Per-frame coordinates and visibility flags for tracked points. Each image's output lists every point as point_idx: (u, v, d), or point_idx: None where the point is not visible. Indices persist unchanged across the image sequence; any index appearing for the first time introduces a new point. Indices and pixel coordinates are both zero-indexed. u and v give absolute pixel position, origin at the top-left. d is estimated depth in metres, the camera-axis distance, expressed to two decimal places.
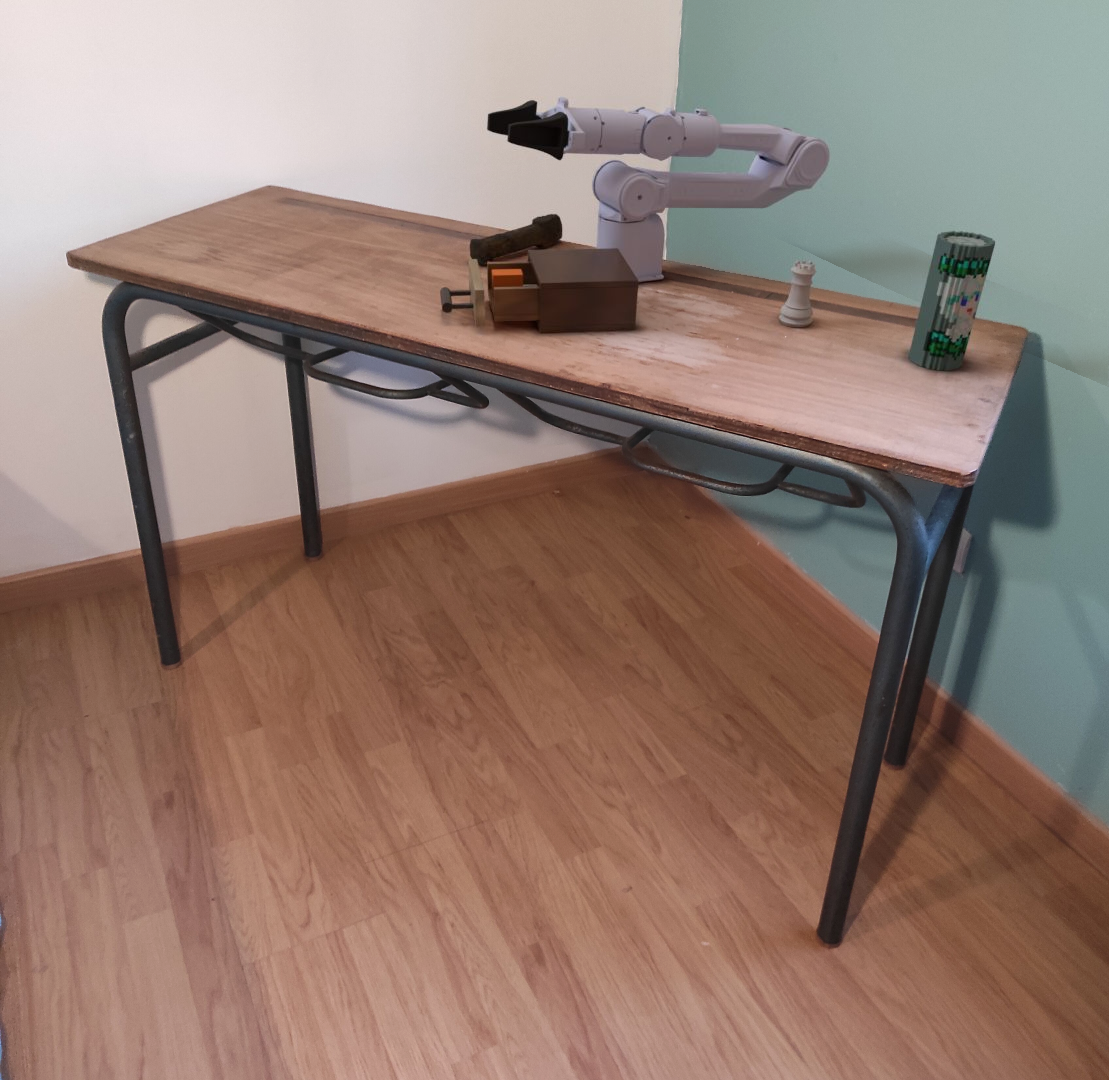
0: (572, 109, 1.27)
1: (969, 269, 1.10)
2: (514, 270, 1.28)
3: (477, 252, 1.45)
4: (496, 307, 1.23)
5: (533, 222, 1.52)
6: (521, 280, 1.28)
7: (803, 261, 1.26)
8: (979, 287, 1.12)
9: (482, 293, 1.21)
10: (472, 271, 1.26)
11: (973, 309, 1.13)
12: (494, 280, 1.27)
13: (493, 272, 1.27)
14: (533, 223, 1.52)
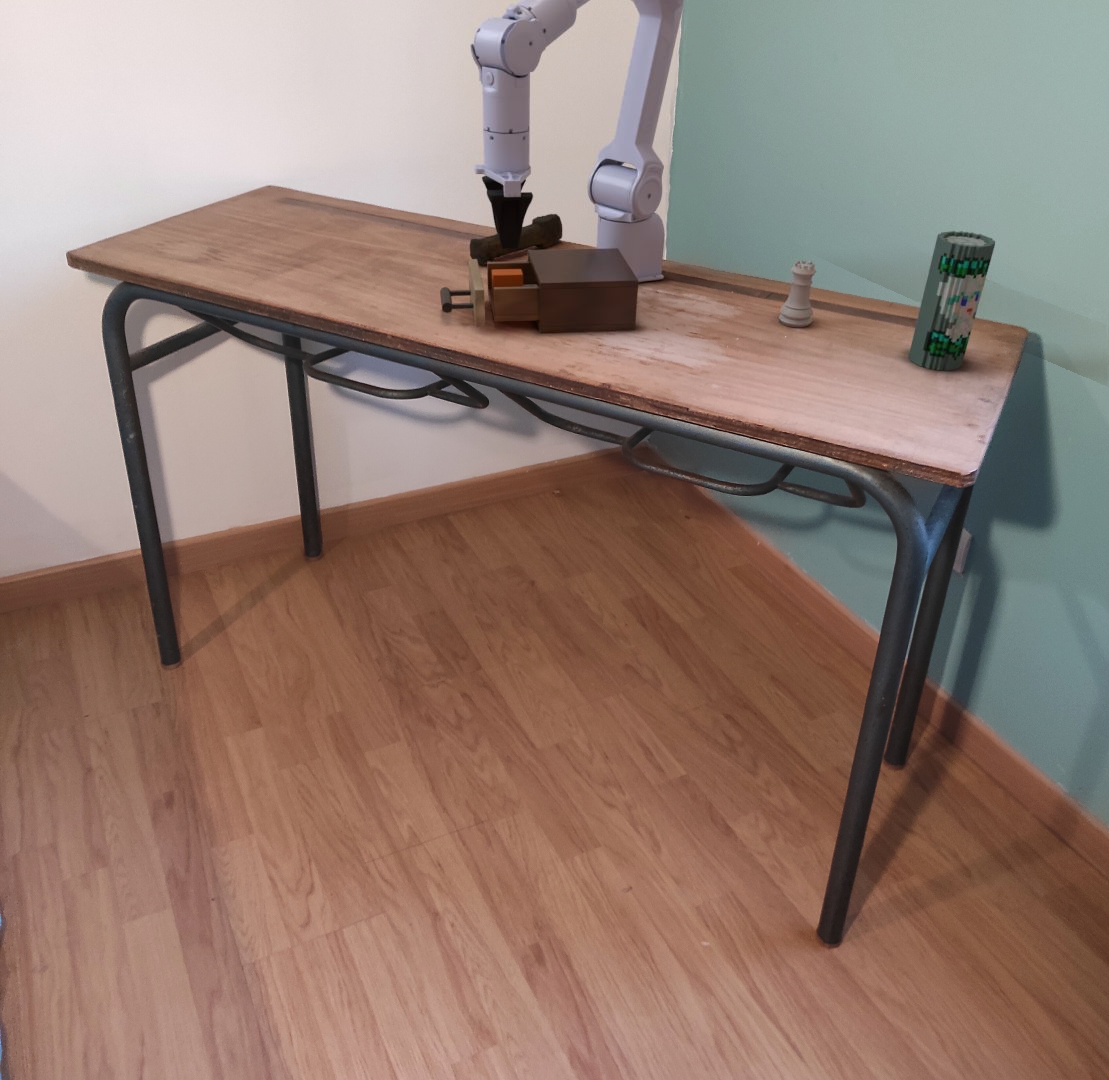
0: (485, 161, 1.19)
1: (969, 269, 1.10)
2: (514, 270, 1.28)
3: (477, 252, 1.45)
4: (496, 307, 1.23)
5: (533, 222, 1.52)
6: (521, 280, 1.28)
7: (803, 261, 1.26)
8: (979, 287, 1.12)
9: (482, 293, 1.21)
10: (472, 271, 1.26)
11: (973, 309, 1.13)
12: (494, 280, 1.27)
13: (493, 272, 1.27)
14: (533, 223, 1.52)
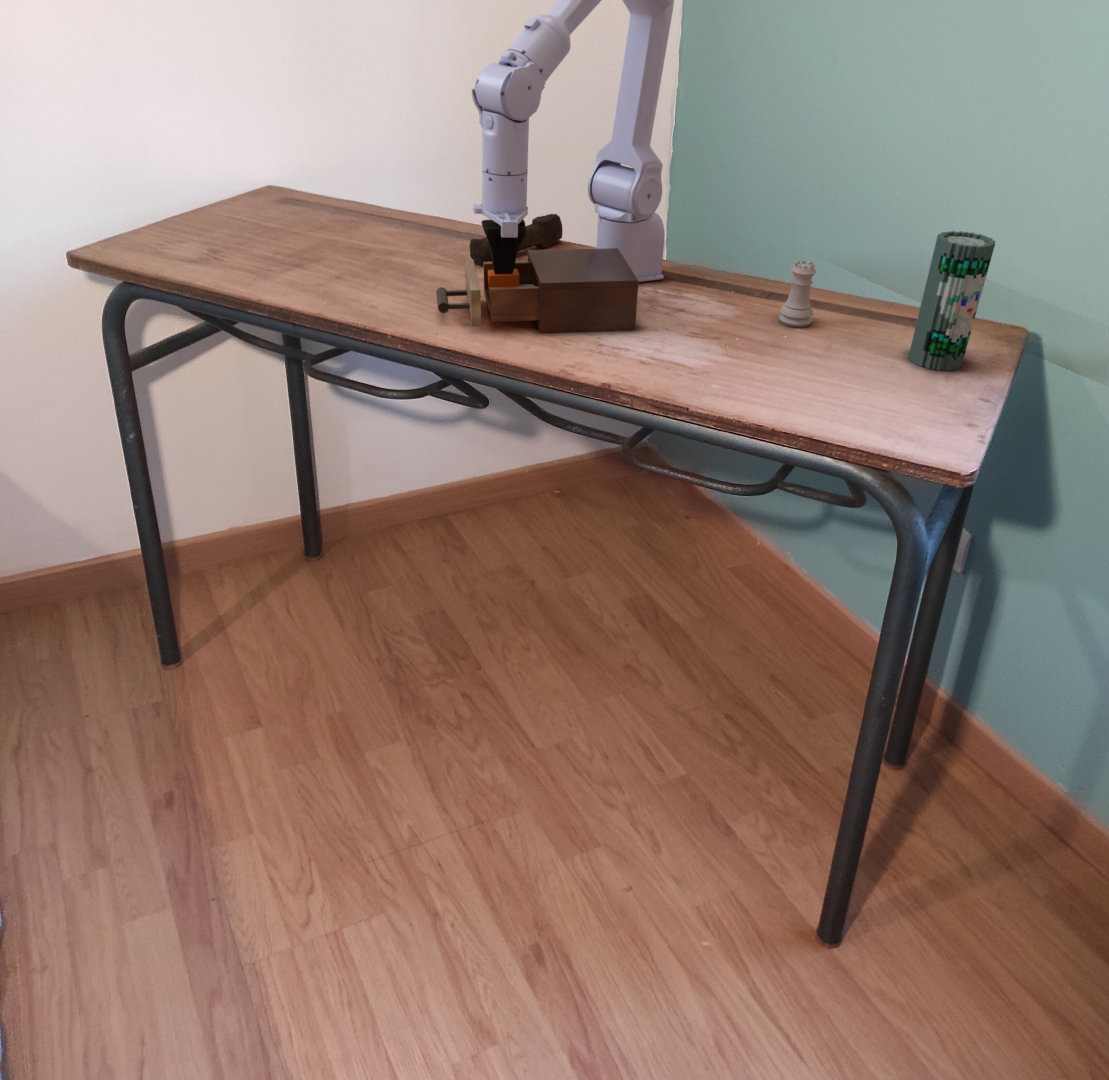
0: (483, 201, 1.22)
1: (969, 269, 1.10)
2: None
3: (477, 252, 1.45)
4: (492, 308, 1.23)
5: (533, 222, 1.52)
6: (517, 280, 1.28)
7: (803, 261, 1.26)
8: (979, 287, 1.12)
9: (478, 293, 1.21)
10: (468, 271, 1.26)
11: (973, 309, 1.13)
12: (490, 280, 1.27)
13: (489, 273, 1.27)
14: (533, 223, 1.52)
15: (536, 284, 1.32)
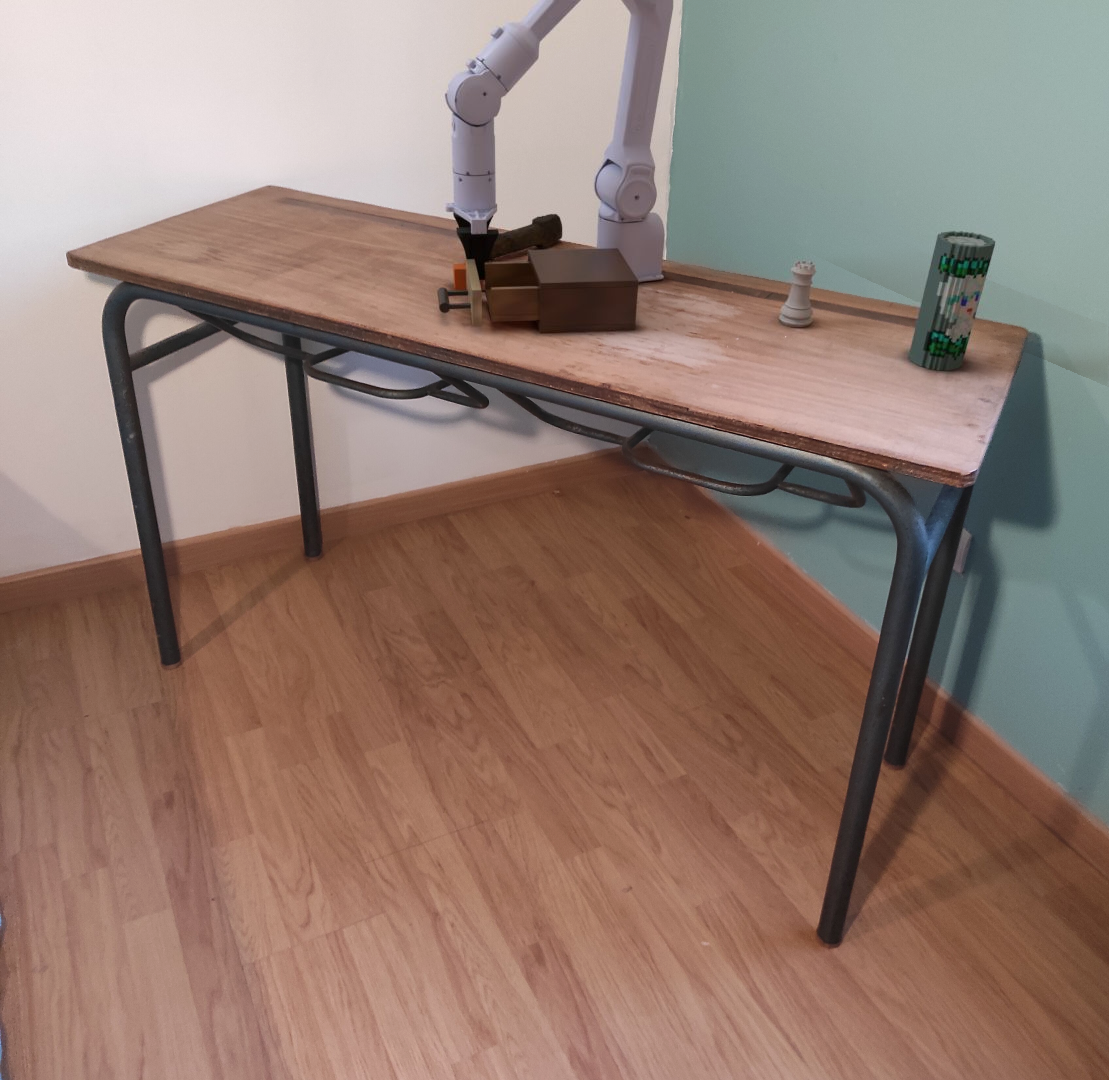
0: (455, 200, 1.30)
1: (969, 269, 1.10)
2: None
3: None
4: (493, 308, 1.23)
5: (533, 222, 1.52)
6: None
7: (803, 261, 1.26)
8: (979, 287, 1.12)
9: (479, 293, 1.21)
10: (469, 271, 1.26)
11: (973, 309, 1.13)
12: (455, 274, 1.35)
13: (454, 266, 1.35)
14: (533, 223, 1.52)
15: (537, 284, 1.32)
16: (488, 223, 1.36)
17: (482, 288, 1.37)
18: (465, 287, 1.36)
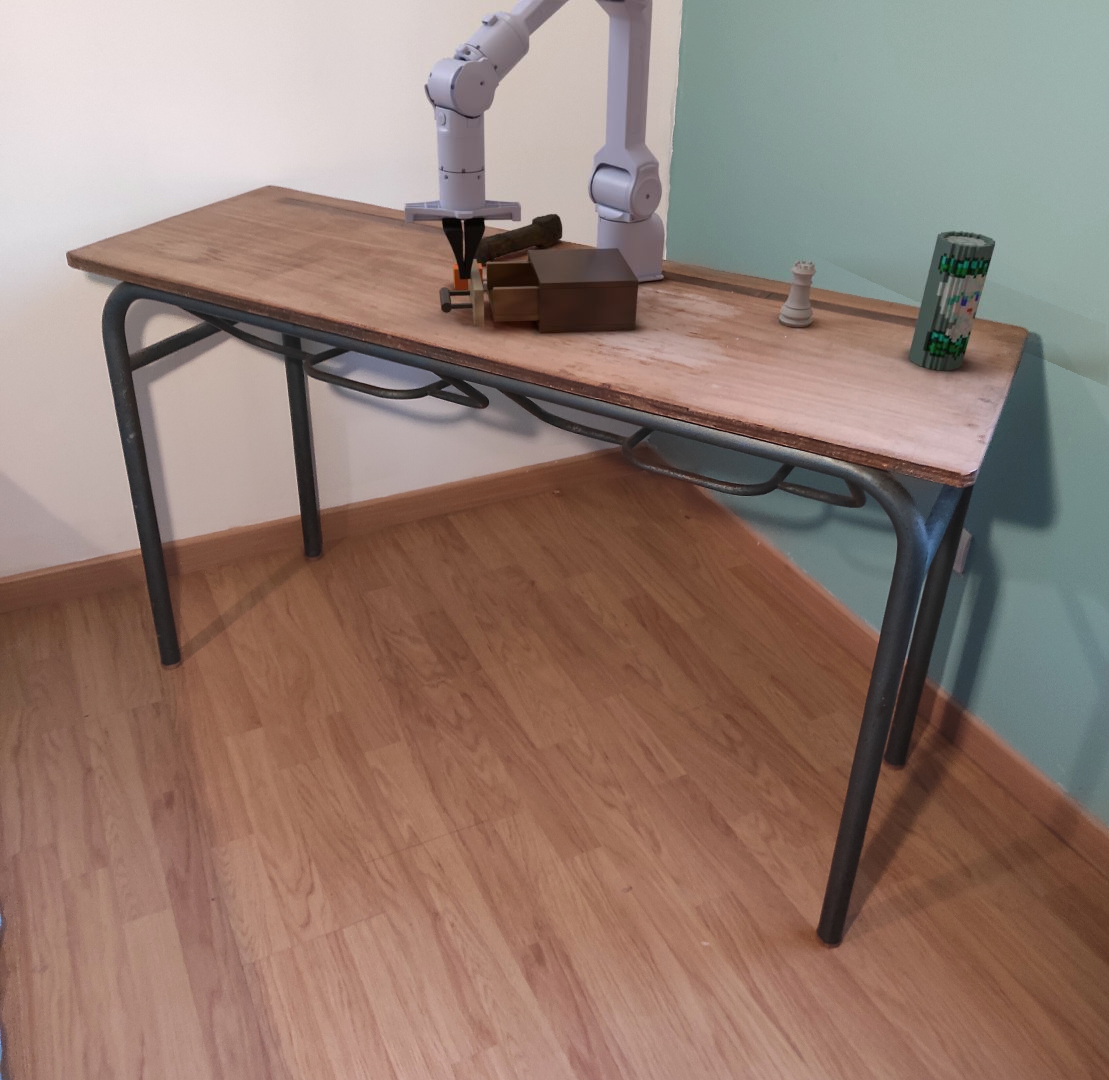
0: (470, 203, 1.18)
1: (969, 269, 1.10)
2: None
3: (477, 252, 1.45)
4: (495, 307, 1.23)
5: (533, 222, 1.52)
6: (481, 274, 1.36)
7: (803, 261, 1.26)
8: (979, 287, 1.12)
9: (481, 293, 1.21)
10: (471, 271, 1.26)
11: (973, 309, 1.13)
12: (455, 274, 1.35)
13: (454, 266, 1.35)
14: (533, 223, 1.52)
15: None
16: None
17: None
18: (465, 287, 1.36)
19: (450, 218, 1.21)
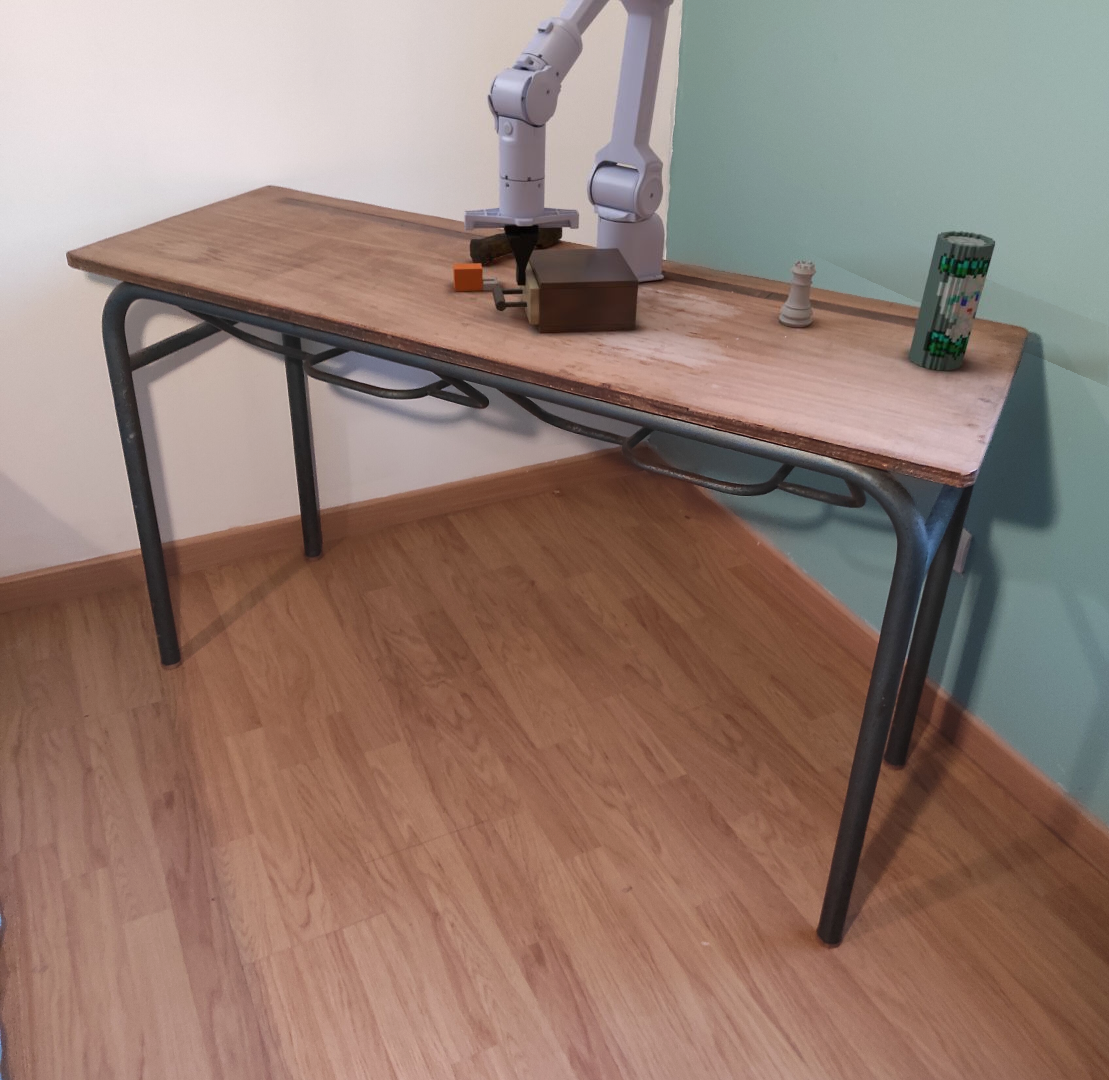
0: (530, 211, 1.19)
1: (969, 269, 1.10)
2: (474, 264, 1.36)
3: (477, 252, 1.45)
4: None
5: None
6: (481, 274, 1.36)
7: (803, 261, 1.26)
8: (979, 287, 1.12)
9: (537, 292, 1.22)
10: None
11: (973, 309, 1.13)
12: (455, 274, 1.35)
13: (454, 266, 1.35)
14: None
15: None
16: None
17: (482, 288, 1.37)
18: (465, 287, 1.36)
19: (513, 225, 1.22)
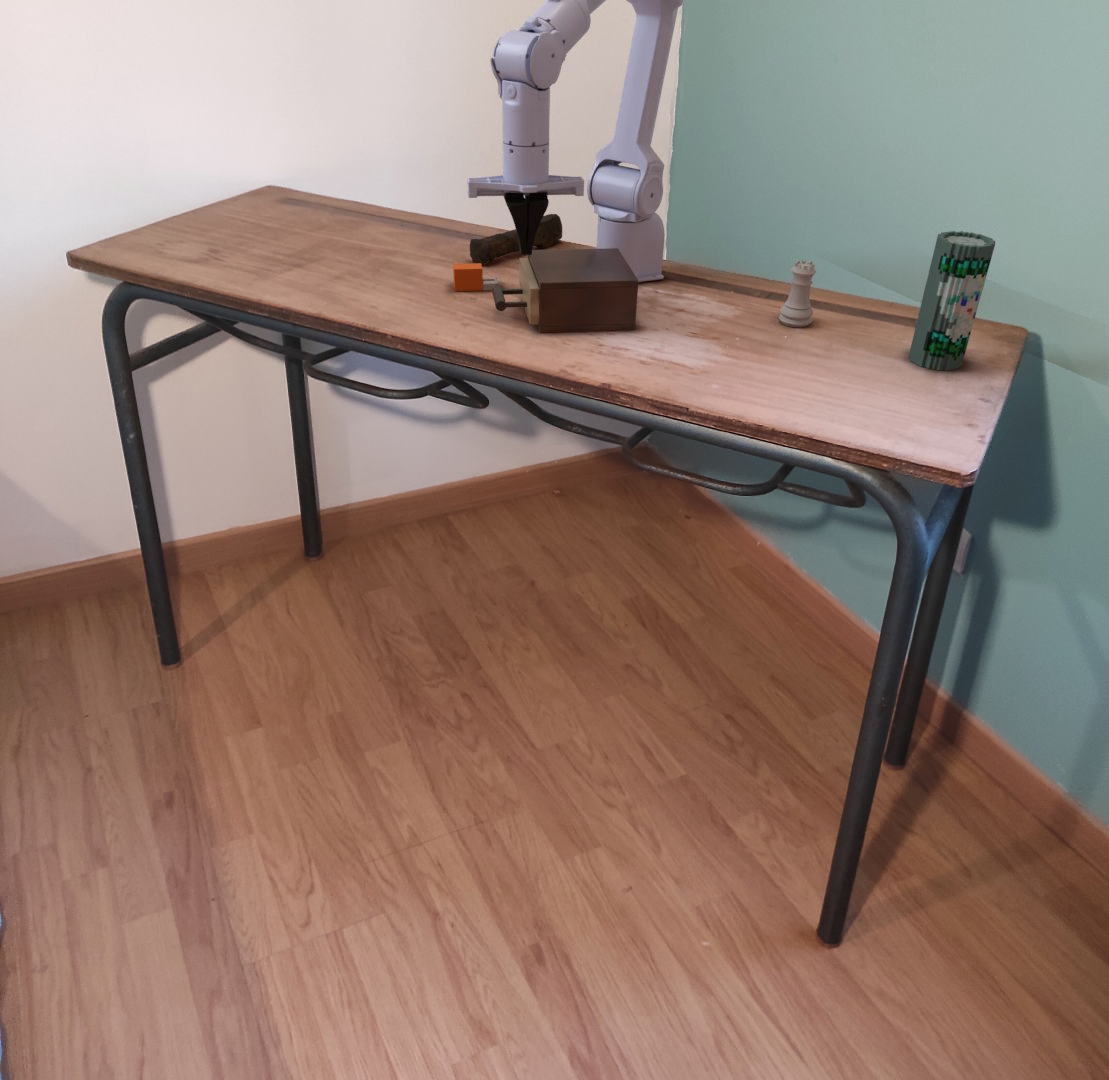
0: (534, 177, 1.17)
1: (969, 269, 1.10)
2: (474, 264, 1.36)
3: (477, 252, 1.45)
4: None
5: None
6: (481, 274, 1.36)
7: (803, 261, 1.26)
8: (979, 287, 1.12)
9: (537, 292, 1.22)
10: (525, 270, 1.27)
11: (973, 309, 1.13)
12: (455, 274, 1.35)
13: (454, 266, 1.35)
14: None
15: None
16: None
17: (482, 288, 1.37)
18: (465, 287, 1.36)
19: (513, 193, 1.20)
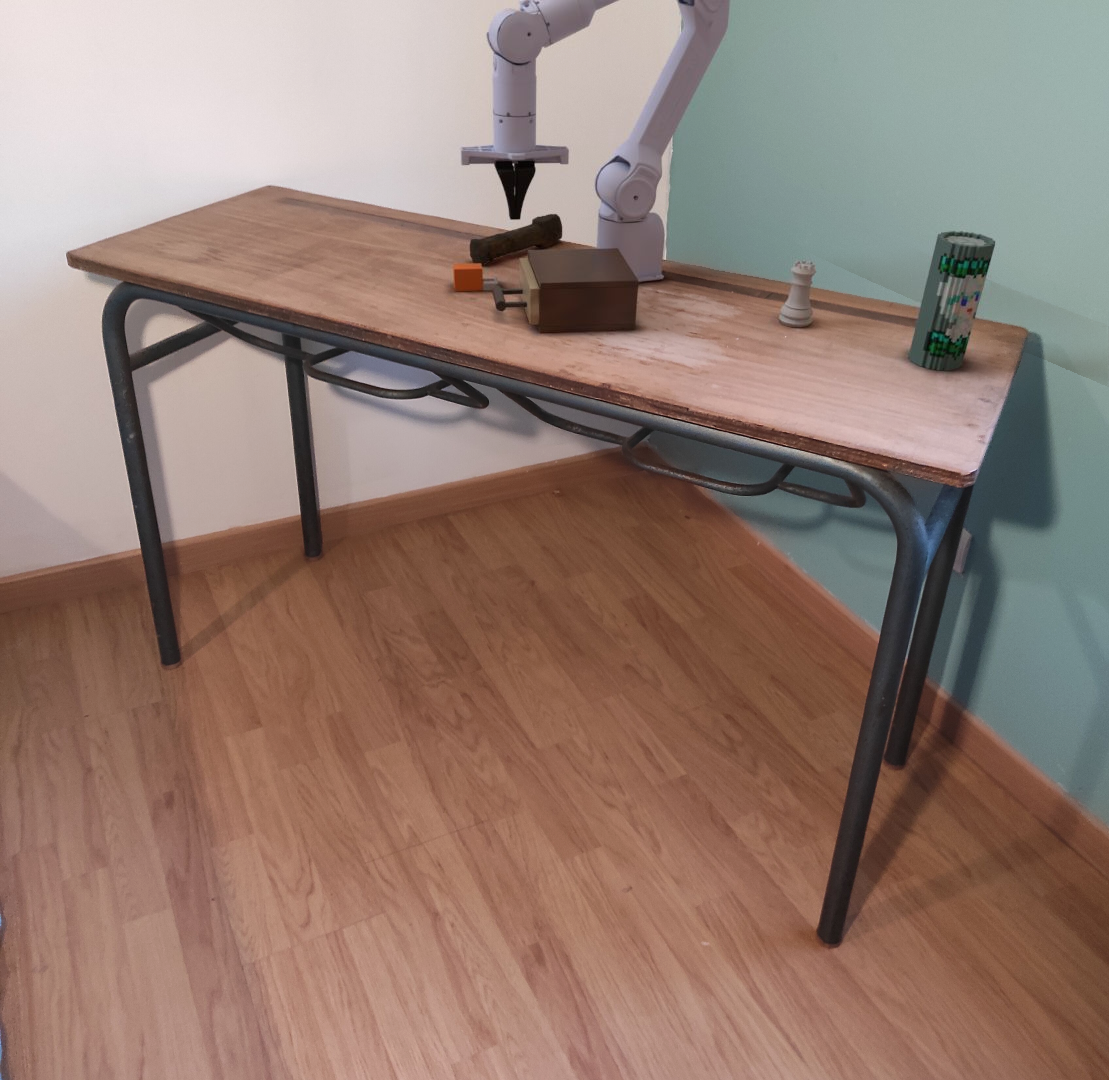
0: (522, 146, 1.27)
1: (969, 269, 1.10)
2: (474, 264, 1.36)
3: (477, 252, 1.45)
4: None
5: (533, 222, 1.52)
6: (481, 274, 1.36)
7: (803, 261, 1.26)
8: (979, 287, 1.12)
9: (537, 292, 1.22)
10: (525, 270, 1.27)
11: (973, 309, 1.13)
12: (455, 274, 1.35)
13: (454, 266, 1.35)
14: (533, 223, 1.52)
15: None
16: None
17: (482, 288, 1.37)
18: (465, 287, 1.36)
19: (503, 161, 1.30)
